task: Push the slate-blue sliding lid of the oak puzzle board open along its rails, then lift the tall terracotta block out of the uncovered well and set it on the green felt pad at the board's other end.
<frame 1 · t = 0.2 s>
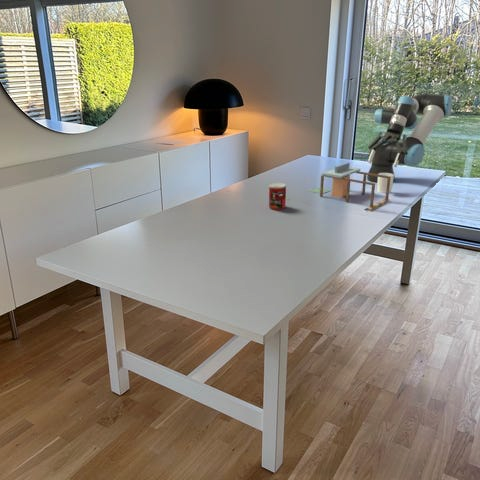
hand: (381, 164, 234), 16 cm above the table, tool tilted 35°, fingers open, 13 cm apart
felt pad: (319, 191, 243), resting on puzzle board
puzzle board: (344, 198, 234), on the table
lid: (340, 197, 236), resting on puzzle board, slide at 0.0 cm
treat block: (340, 195, 235), point 1 cm above the table, touching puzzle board
canned food: (277, 207, 222), on the table
white cup: (383, 193, 242), on the table
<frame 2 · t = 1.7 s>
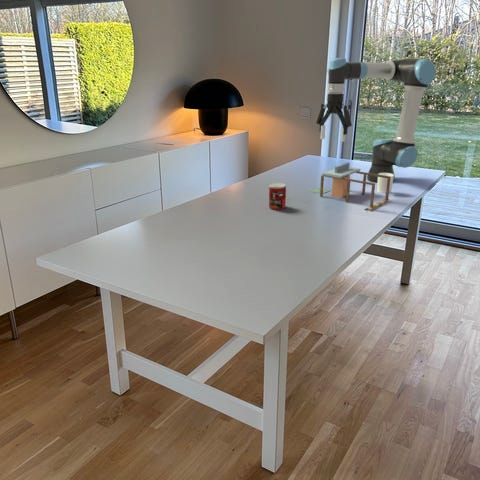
hand: (332, 140, 229), 28 cm above the table, tool pointing down, fingers open, 11 cm apart
nothing on the table moved.
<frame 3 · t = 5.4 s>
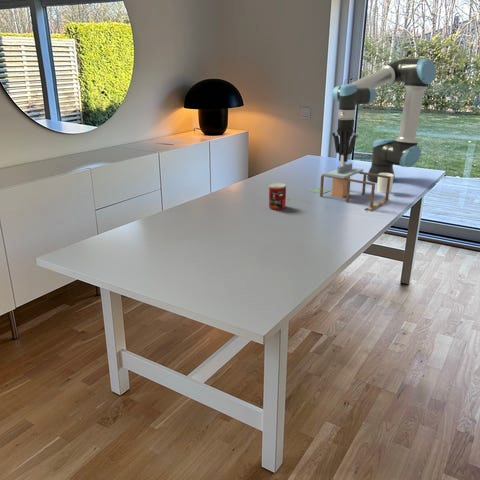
hand: (342, 167, 230), 15 cm above the table, tool pointing down, fingers closed
lid: (342, 198, 235), resting on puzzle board, slide at 1.6 cm, touching gripper
everything else where it was.
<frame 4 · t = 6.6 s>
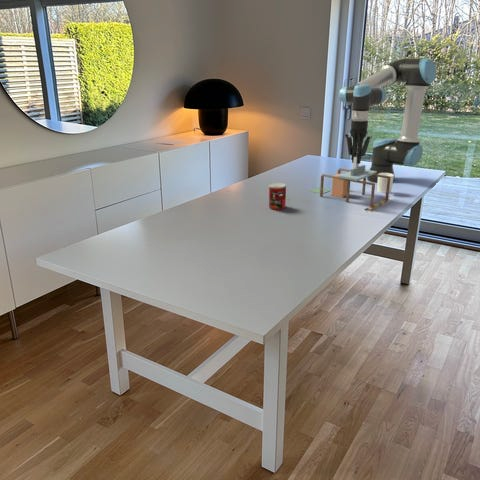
hand: (355, 170, 226), 15 cm above the table, tool pointing down, fingers closed
lid: (355, 200, 230), resting on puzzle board, slide at 8.6 cm, touching gripper
everything else where it was.
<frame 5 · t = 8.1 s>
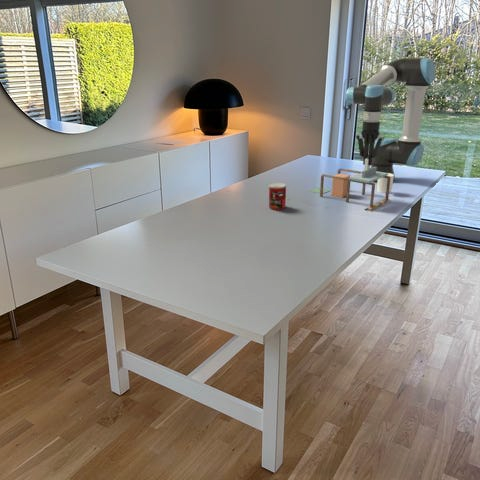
hand: (366, 171, 222), 15 cm above the table, tool pointing down, fingers closed
lid: (366, 203, 227), resting on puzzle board, slide at 14.5 cm, touching gripper
everything else where it was.
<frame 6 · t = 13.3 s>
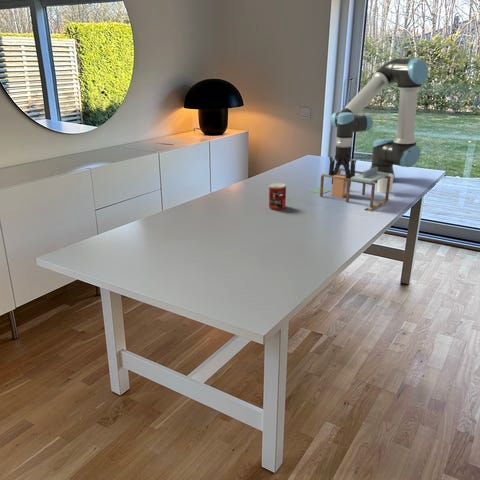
hand: (340, 192, 235), 3 cm above the table, tool pointing down, fingers closed on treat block, 6 cm apart
lid: (367, 203, 226), resting on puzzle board, slide at 15.1 cm
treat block: (340, 195, 235), point 1 cm above the table, touching gripper, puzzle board
everything else where it was.
when the fingers open (4 cm above the table, at t = 18.4 s): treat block drops 1 cm, resting on felt pad.
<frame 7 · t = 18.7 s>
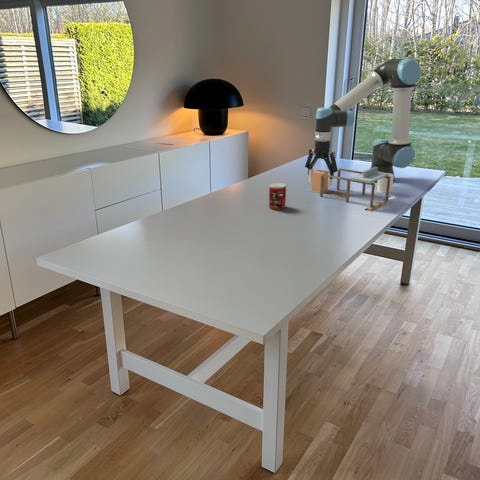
hand: (320, 183, 241), 5 cm above the table, tool pointing down, fingers open, 10 cm apart
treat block: (319, 190, 243), point 1 cm above the table, touching felt pad
everything else where it was.
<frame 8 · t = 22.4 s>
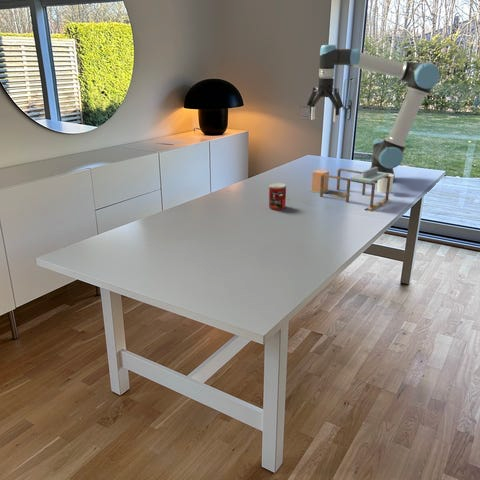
hand: (323, 120, 245), 35 cm above the table, tool pointing down, fingers open, 13 cm apart
nothing on the table moved.
at the end: lid slide at 15.1 cm; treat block inside the target area on the felt pad (0.0 cm from its centre), point 0.3 cm above the felt pad's base; the gripper is holding nothing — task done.
